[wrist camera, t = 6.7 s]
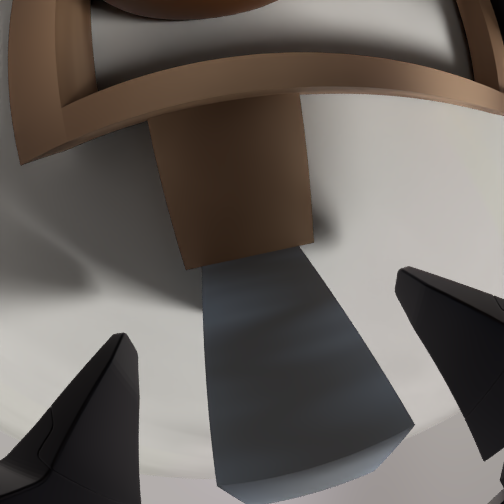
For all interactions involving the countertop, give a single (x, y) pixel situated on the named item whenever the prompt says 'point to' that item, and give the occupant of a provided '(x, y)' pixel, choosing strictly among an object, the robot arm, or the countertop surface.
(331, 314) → the brown frame with handle
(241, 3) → the mug
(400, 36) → the countertop surface
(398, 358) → the countertop surface
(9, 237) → the countertop surface
